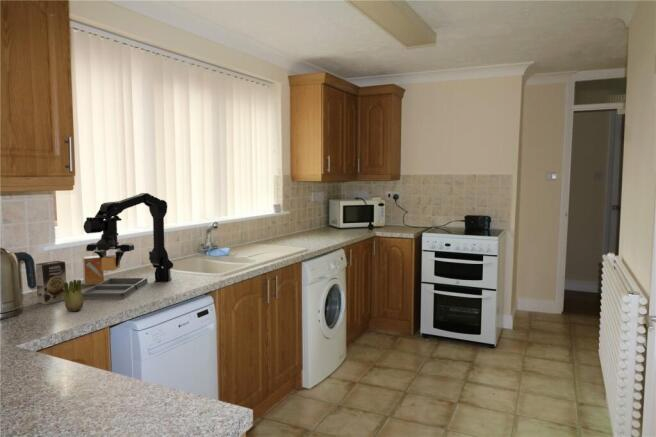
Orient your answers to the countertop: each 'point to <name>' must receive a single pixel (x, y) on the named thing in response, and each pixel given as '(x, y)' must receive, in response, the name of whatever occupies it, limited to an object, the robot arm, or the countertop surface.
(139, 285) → the case
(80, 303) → the fennel bulb
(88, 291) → the case lid
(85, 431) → the countertop surface
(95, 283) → the small box
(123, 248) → the robot arm
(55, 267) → the coffee box
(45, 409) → the countertop surface
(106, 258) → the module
